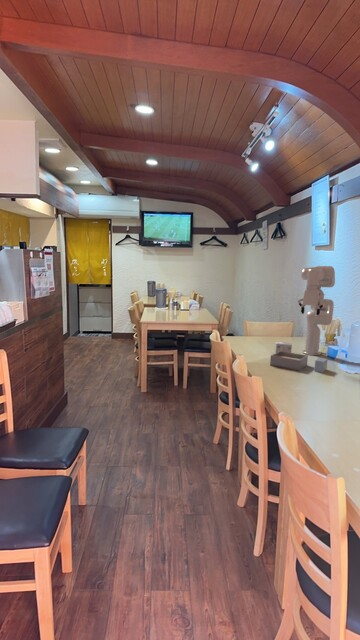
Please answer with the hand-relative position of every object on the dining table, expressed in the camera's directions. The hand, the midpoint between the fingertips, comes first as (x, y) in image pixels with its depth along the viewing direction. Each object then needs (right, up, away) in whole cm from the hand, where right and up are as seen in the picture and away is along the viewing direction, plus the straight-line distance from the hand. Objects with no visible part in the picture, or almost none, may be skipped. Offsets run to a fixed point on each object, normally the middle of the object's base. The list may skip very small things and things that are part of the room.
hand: (310, 314), depth 243 cm
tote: (-15, -33, -3) cm, 36 cm away
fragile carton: (+2, -35, -12) cm, 37 cm away
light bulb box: (-14, -30, +16) cm, 37 cm away
